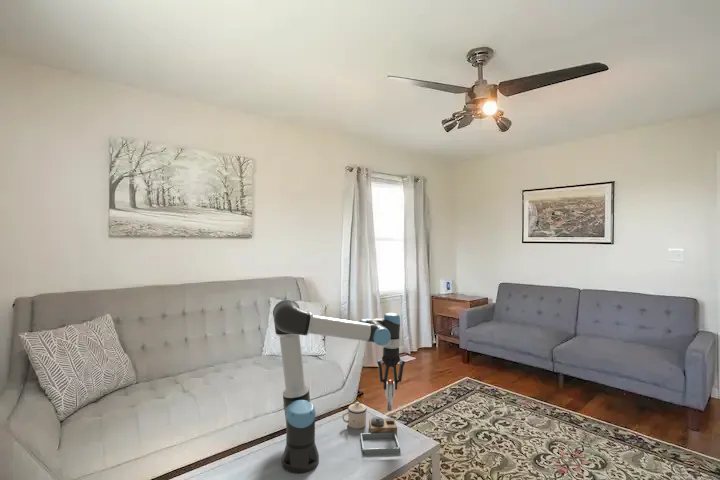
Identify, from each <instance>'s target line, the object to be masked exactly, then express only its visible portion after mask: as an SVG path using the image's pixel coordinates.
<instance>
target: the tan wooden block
mask: <svg viewBox="0 0 720 480" xmlns="http://www.w3.org/2000/svg"><path fill="white" fill-rule="evenodd" d="M368 427H369V433H392V432H395V434H396V437H398V426H397V423H396V421H395V418H394V417H385V418H384V417H380V416H376V417H375V416H374V417H372V418H369V419H368Z"/></svg>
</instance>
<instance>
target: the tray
mask: <svg viewBox="0 0 720 480" xmlns="http://www.w3.org/2000/svg"><path fill="white" fill-rule="evenodd" d="M359 435H360V437H359V439H360V444H361V450H362V455H377V454H382V455H383V454H401V447H400V443H399V440H398V436H396V434H395V432H392V433H370V432H367V433H365V432H363V433H362V432H361V433H360V434H359ZM387 438H393V439H394V442H395V445H396V447H375V448H373V447H371V448H365V446H364V445H365V444H364V439H387Z"/></svg>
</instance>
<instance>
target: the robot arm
mask: <svg viewBox="0 0 720 480" xmlns="http://www.w3.org/2000/svg"><path fill="white" fill-rule="evenodd" d="M272 317H273V323H274V331H275V332H274V333H275V334H276V335H277V336H278V337H279V344H280V353H281V361H282V369H283V377H284V379H283V380H284V387H285V389H284V390H283V392H282V400H283V410H284V416H285V423H286V430H285V432H286V433H285V434H286V435H285V437H286V440H285V441H286V444H285V447H284V451H283V453H282V455H281V456H282V457H281V466H282V468H283V469H284V470H285V471H286V472H289V473H294V474H302V473H303V474H304V473H307V472H310V471H313V470H314V469H316V468H317V466H318V465H319V462H320V454H319V452H318V448H317V445H316V415H317V414H316V407H315V405H314V404H313V403H312V402H311V398H310V397H311V396H310V387H308V386H306V385H305V384H306V383H305V374H304V365H303V356H302V346H301V338H300V336H308V335H310V334H311V335H319V336H326V337H333V338H341V339H348V340H355V341H361V342H368V343H375V345H378V346H381V347H382V346H383V348H382V350H383V352H382V357H381V359H377V360H376V362H377V365H378V375H379V380H380V383H383V385H382V386H383V390H384V391H385V393H384V395H385V398H387V397H388V375H389V371H390V367H392V371H393V398H395V396H396V390H398V383H401V382H402V379H403V372H404V365H405V364H406V362H405V359H401V357H400V339H401V338H400V337H401V336H400V334H401V333H400V332H401V316H400V315H399V314H398V313H397V312H396V313H395V312H388V313H387V312H386V313H384V315H383V317H382V318H381V317H380V318H363V319H359V321H354V320H348V319H342V318H335V317H330V316H329V317H328V316H323V315H321V316H320V315H315V314H312V312H311V311H306V310H304V309H303V310H302V309H300V306H299V304H298V303H297V302H296V301H294V300H291V299H282V300H280V301H279V302H277V303H276V304H275V306H274V308H273V309H272ZM383 363H384V365H385V367H384V373H383V368H382V367H383V366H382V365H383ZM398 364H399V368H398V374H397V365H398Z"/></svg>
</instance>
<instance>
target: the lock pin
mask: <svg viewBox="0 0 720 480" xmlns="http://www.w3.org/2000/svg"><path fill="white" fill-rule="evenodd" d="M393 381H394V379H387V382H388V397H386V400H387V401H386V410H387V411H388V412H391V411H393V409H394V408H393V404H394V403H393V402H394V401H393V399H394V397H393Z"/></svg>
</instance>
